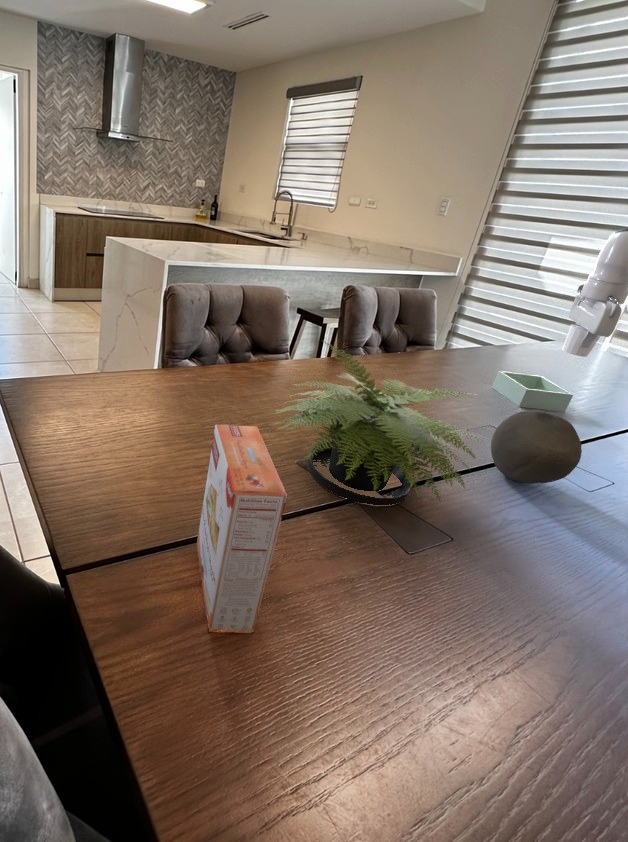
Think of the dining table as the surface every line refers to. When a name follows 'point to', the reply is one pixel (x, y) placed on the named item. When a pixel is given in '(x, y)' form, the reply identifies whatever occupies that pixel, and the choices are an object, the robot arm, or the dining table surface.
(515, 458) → the dark brown rounded lump
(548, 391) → the dish tub
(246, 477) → the cracker box
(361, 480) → the fern plant
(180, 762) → the dining table surface
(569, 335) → the white short cylinder
